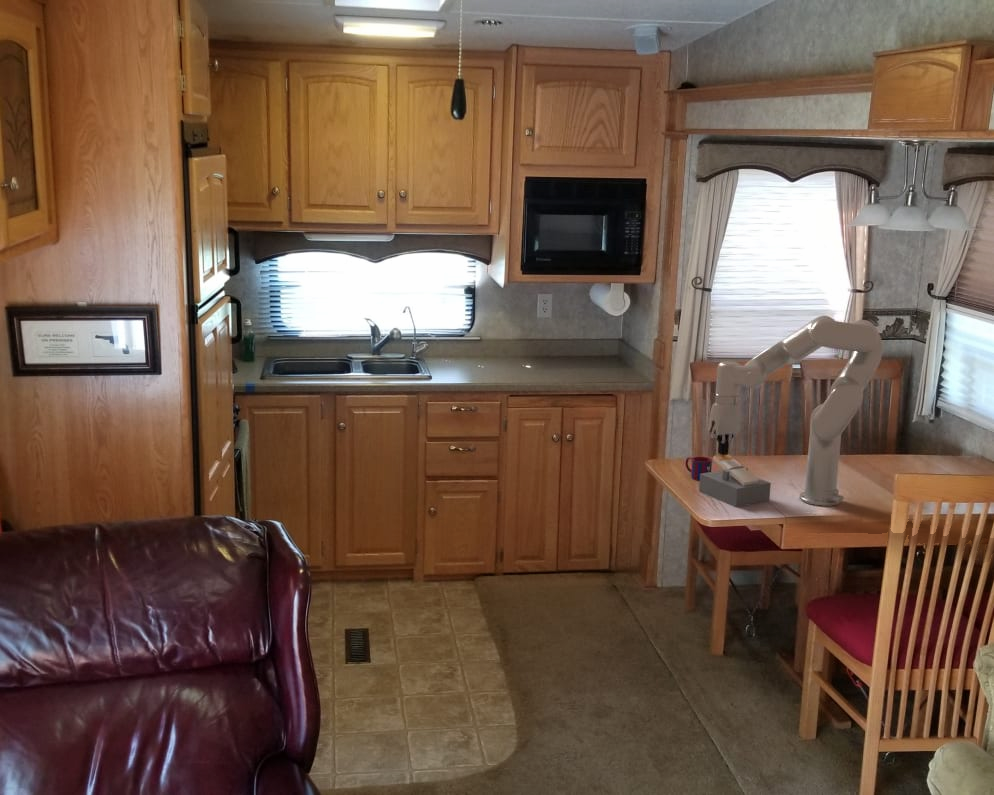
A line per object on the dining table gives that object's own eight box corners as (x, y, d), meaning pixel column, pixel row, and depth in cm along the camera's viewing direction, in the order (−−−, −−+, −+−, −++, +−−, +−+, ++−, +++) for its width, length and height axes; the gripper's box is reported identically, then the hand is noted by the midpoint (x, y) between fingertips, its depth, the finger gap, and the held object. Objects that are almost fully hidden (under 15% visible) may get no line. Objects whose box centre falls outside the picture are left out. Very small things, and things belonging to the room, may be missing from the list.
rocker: (757, 483, 328) (759, 479, 327) (743, 486, 325) (744, 481, 324) (726, 457, 340) (728, 453, 339) (712, 459, 337) (713, 455, 336)
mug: (701, 482, 348) (702, 463, 347) (680, 474, 356) (681, 456, 355) (714, 479, 352) (716, 460, 350) (694, 472, 360) (695, 453, 358)
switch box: (769, 500, 329) (771, 473, 327) (735, 507, 323) (737, 479, 321) (731, 485, 345) (733, 459, 343) (699, 491, 338) (700, 465, 336)
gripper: (736, 395, 339) (732, 448, 343) (701, 399, 332) (697, 453, 336) (752, 400, 332) (748, 454, 337) (716, 404, 325) (712, 459, 330)
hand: (722, 453), depth 336 cm, fingers closed
